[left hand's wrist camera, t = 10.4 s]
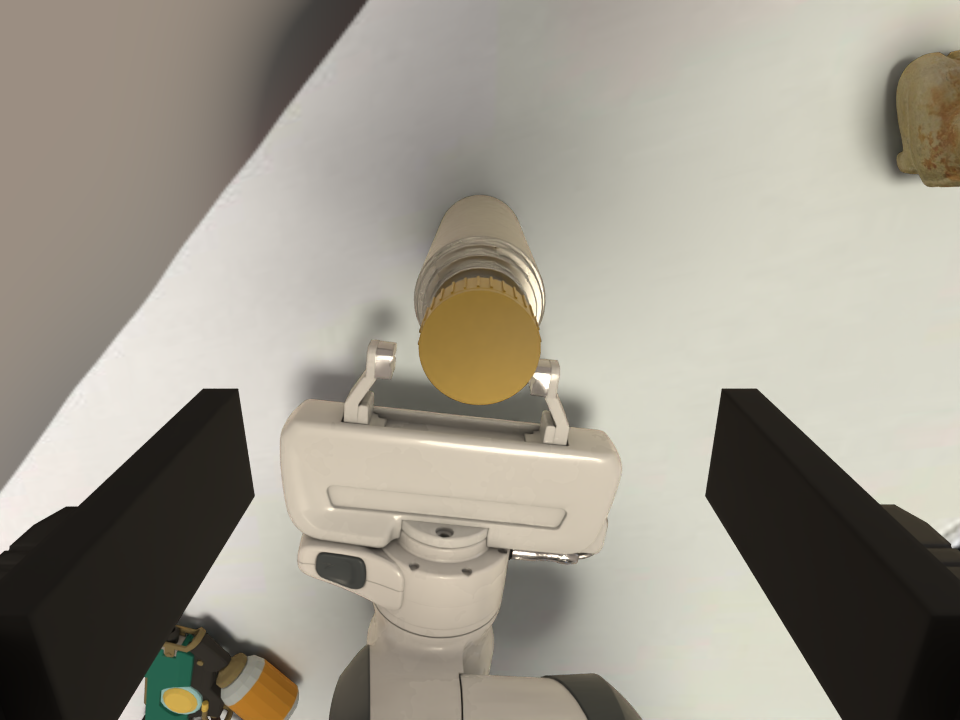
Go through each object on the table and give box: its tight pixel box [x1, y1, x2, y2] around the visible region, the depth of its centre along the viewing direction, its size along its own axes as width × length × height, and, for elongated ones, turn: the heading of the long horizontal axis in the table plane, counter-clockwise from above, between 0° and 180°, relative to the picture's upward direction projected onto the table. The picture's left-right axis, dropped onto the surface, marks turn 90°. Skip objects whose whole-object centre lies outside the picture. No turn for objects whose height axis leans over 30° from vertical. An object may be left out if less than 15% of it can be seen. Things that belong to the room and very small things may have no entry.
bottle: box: [414, 195, 545, 327], centre depth 29 cm, size 5×5×21 cm
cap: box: [418, 276, 541, 405], centre depth 20 cm, size 4×4×2 cm
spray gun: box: [142, 625, 299, 720], centre depth 51 cm, size 4×17×15 cm
